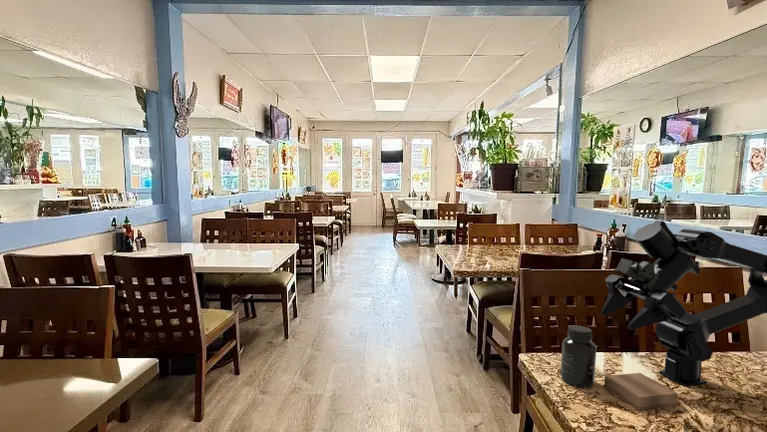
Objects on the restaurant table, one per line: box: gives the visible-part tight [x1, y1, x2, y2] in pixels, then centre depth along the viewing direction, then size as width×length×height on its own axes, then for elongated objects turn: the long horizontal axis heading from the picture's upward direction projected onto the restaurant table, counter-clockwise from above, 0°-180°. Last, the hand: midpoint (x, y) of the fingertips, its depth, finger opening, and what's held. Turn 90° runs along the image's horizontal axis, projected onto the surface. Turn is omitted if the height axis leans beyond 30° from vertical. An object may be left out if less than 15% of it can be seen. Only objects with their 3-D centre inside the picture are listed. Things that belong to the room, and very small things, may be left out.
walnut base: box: [602, 372, 679, 411], centre depth 83 cm, size 9×9×2 cm
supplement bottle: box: [560, 324, 597, 388], centre depth 89 cm, size 7×7×12 cm
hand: (614, 321), depth 89 cm, fingers open, 9 cm apart
